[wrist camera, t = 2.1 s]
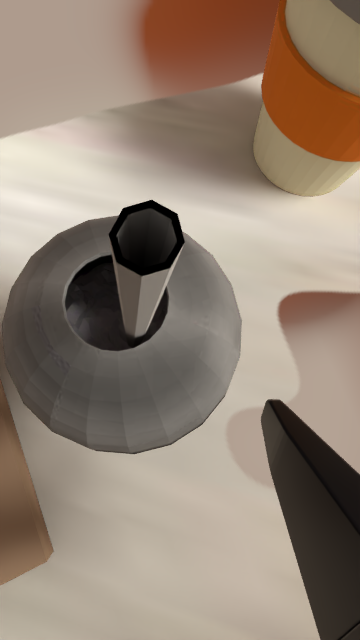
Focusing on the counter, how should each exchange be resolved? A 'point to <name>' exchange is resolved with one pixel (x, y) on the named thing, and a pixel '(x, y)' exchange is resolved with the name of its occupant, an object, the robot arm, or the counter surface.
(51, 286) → the beverage cup
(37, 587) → the counter surface
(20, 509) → the base board
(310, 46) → the reusable coffee cup
